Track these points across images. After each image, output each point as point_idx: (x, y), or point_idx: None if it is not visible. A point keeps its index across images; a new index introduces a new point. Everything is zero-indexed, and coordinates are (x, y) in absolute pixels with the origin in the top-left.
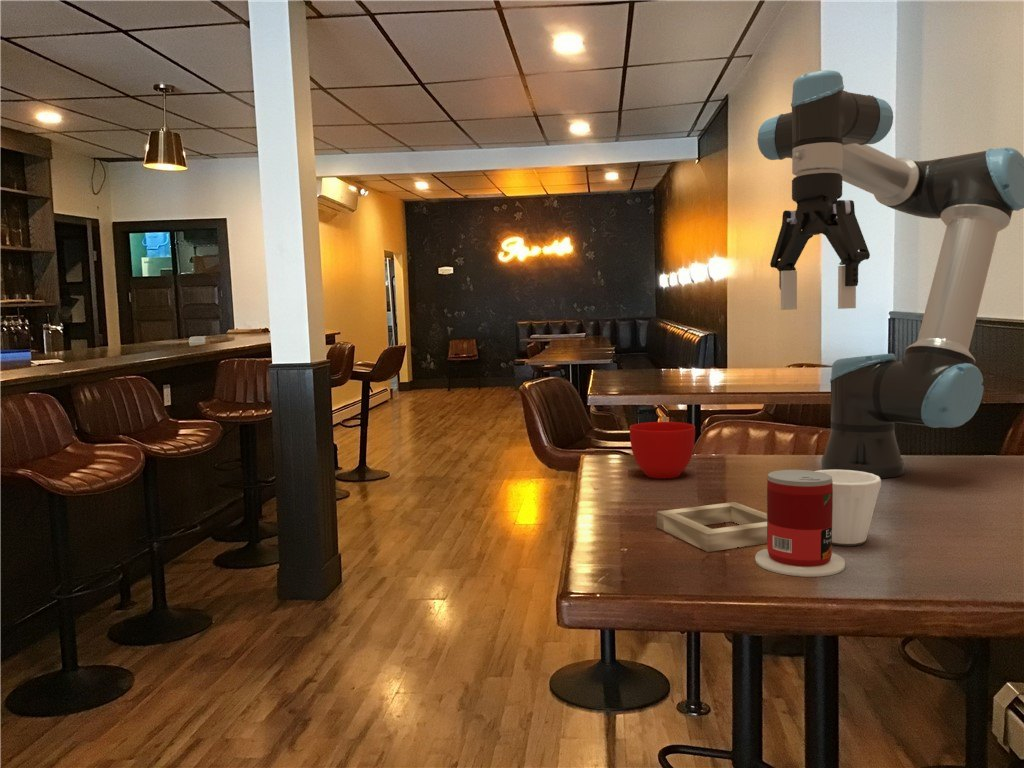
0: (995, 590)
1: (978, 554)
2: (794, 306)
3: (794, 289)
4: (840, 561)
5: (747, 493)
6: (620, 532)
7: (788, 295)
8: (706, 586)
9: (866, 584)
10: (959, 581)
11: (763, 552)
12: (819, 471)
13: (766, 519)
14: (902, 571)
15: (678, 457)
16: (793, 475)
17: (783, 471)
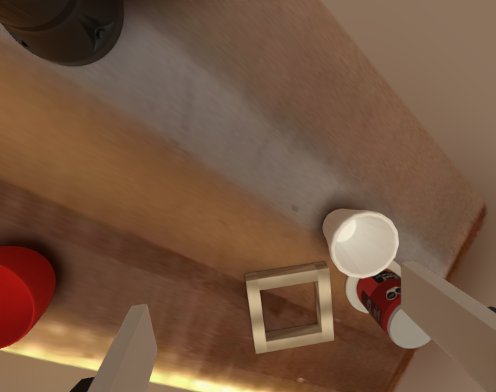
0: (467, 198)
1: (408, 150)
2: (146, 318)
3: (128, 366)
4: (392, 263)
5: (154, 219)
6: (257, 372)
7: (141, 372)
8: (389, 355)
9: (425, 266)
10: (445, 207)
11: (354, 302)
12: (335, 252)
13: (311, 281)
14: (415, 229)
15: (52, 277)
16: (402, 322)
17: (392, 327)
